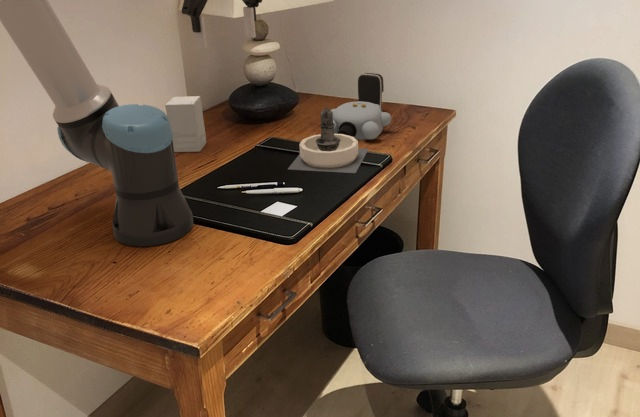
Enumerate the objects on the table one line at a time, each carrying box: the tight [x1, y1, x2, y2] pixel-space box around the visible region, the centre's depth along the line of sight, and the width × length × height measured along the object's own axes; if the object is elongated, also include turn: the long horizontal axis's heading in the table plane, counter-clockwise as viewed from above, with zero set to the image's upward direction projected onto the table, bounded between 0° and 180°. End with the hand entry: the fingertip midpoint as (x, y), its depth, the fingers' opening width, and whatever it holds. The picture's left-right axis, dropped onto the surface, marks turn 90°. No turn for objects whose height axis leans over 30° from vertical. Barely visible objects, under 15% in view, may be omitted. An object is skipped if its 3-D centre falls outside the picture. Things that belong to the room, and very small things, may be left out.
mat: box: [287, 147, 369, 174], centre depth 159 cm, size 16×16×1 cm
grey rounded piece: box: [330, 100, 392, 141], centre depth 174 cm, size 17×8×20 cm
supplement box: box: [164, 95, 207, 153], centre depth 170 cm, size 7×7×13 cm
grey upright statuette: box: [315, 105, 340, 151], centre depth 156 cm, size 6×6×12 cm
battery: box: [357, 72, 384, 112], centre depth 190 cm, size 7×4×11 cm, turn 61°
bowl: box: [298, 133, 359, 168], centre depth 158 cm, size 13×13×4 cm
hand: (227, 42), depth 148 cm, fingers open, 13 cm apart
